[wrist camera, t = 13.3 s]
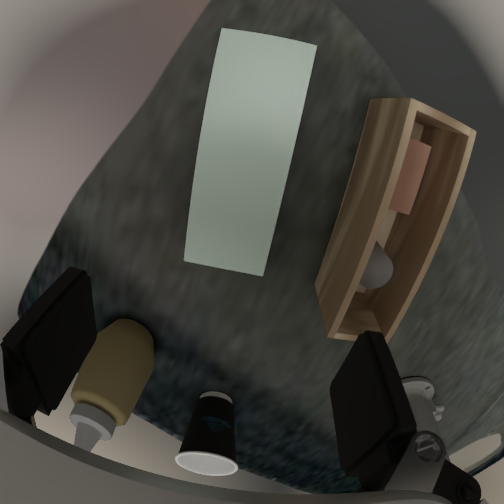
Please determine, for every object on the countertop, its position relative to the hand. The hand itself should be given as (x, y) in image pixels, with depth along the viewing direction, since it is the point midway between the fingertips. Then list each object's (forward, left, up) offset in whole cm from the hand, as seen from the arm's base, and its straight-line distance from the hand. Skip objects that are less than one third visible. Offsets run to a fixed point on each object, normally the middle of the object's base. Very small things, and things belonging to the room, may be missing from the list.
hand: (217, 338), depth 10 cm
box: (-11, -1, -19) cm, 22 cm away
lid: (+1, -3, -19) cm, 19 cm away
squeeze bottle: (+11, +21, -19) cm, 30 cm away
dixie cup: (-1, +31, -19) cm, 36 cm away
